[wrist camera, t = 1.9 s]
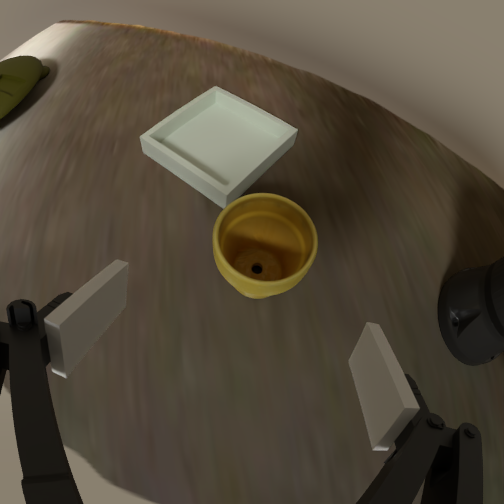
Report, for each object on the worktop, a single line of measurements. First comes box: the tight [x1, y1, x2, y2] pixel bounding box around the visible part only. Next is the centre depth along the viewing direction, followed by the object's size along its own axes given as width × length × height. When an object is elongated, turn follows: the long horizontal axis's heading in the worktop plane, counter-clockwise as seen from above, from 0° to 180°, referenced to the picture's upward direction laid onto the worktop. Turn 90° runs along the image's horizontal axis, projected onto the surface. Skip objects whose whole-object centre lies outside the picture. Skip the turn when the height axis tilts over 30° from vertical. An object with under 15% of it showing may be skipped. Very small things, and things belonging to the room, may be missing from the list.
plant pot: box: [213, 193, 318, 299], centre depth 35 cm, size 10×10×10 cm
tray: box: [140, 86, 298, 209], centre depth 46 cm, size 17×17×4 cm
